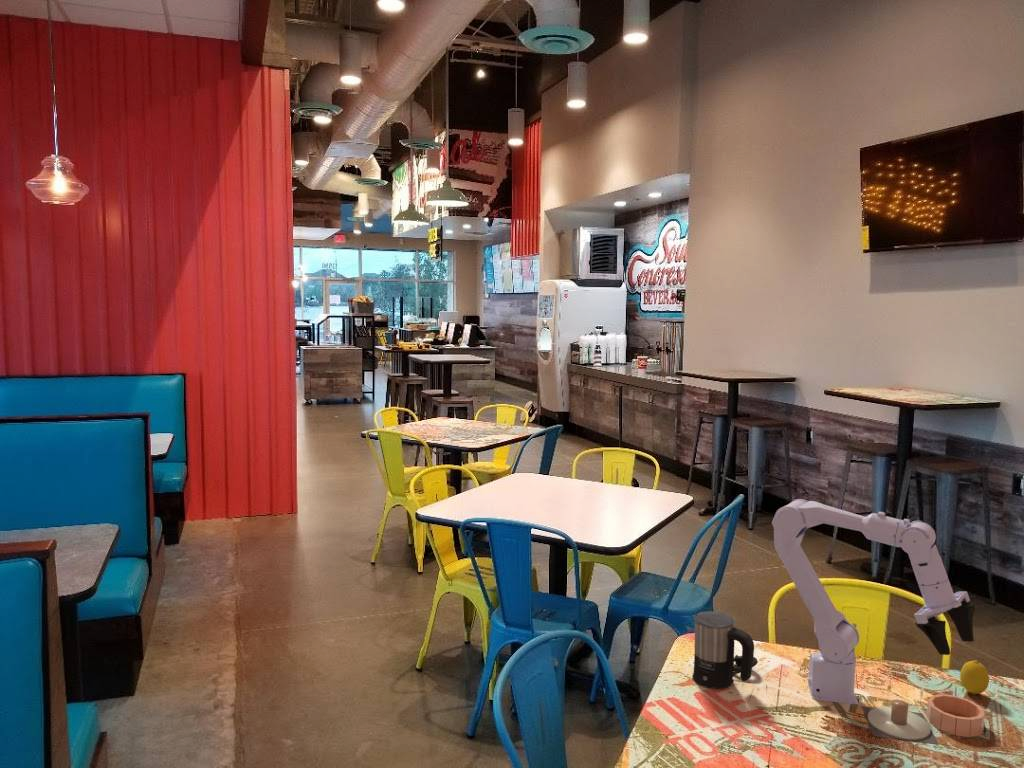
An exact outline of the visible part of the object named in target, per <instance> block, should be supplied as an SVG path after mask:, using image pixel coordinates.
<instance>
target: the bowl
mask: <svg viewBox="0 0 1024 768" xmlns="http://www.w3.org/2000/svg"><path fill="white" fill-rule="evenodd" d="M985 715H986V712H985V711H984V709H983V708H982V706H981V705H978V703H976V702H974V701H972V700H971V699H967V698H965V697H961V696H958V695H952V694H944V693H939V694H934V695H930V697H928V699H927V705H926V720H928V723H929V725H932V726H933V727H934V728H937V729H938V730H939V731H942V732H945V733H947V734H949V735H950V734H951V735H953V736H957V737H966V738H972V737H979V736H981V735H982V733H983V731H984V729H985V719H986V718H985V717H986V716H985Z"/></svg>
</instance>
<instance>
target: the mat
mask: <svg viewBox="0 0 1024 768" xmlns="http://www.w3.org/2000/svg"><path fill="white" fill-rule="evenodd" d="M861 708H862V711H863V713H864V715H865V718H866V721H867V723H868V726H869V728H870V732H871V734H872V735H873V737H878V738H886V739H893V740H901V741H910V742H916V743H923V744H931V745H940V743H939V742H938V740H937V738H936V736H935V733H934V732H933V731H932V729H931V727H930V729H931V730H930V735H929V736H928V737H926V738H924V739H919V740H907V739H900V738H896V737H893V736H890V735H887V734H885V733H883V732H881V731H879V730H877V729H876V728H874V727H873V726H872V725H871V724H870V722H869V721H868V713H869V711H871V710H872V709H874V708H876V707H874V706H864V705H861ZM911 712H912V713H914V714H916V715H918V716H920V717H921V718H923V719H924V720H925V721H926V722H927V723H928V721H927V718H926V717H925V716H924V714H923V712H914V711H911Z"/></svg>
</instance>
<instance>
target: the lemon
mask: <svg viewBox="0 0 1024 768" xmlns="http://www.w3.org/2000/svg"><path fill="white" fill-rule="evenodd" d="M959 679H960V682H961V685H962V687H963V688H964V689H965V690H966V691H967V692H970V694H971V695H977V694H982V693H984V692H985V691H986V690H987V688H988V687H989V682H990V676H989V672H988V669H987V668H986V667H985V665H984V664H982V663H981V662H979V661H978V660H976V659H974V660H970V661H967V662H965V663H964V664H963V665H962V668H961V670H960V673H959Z"/></svg>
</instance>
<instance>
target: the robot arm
mask: <svg viewBox="0 0 1024 768" xmlns="http://www.w3.org/2000/svg"><path fill="white" fill-rule="evenodd" d="M910 521H911V520H910V519H908V518H904V519H900V518H895V517H891V516H886V512H884V511H878V512H877V513H875V512H873V513H870V514H868V515H867V516H864V515H860V514H856V513H854V512H850V511H847V510H843V509H840V508H836V507H833V506H830V505H827V504H824V503H820V502H819V501H815V500H809V501H808V500H806V499H803V498H797V499H794V500H792V501H791V502H790V503H788V504H786V505H784V506H782V507H780V508H778V509H777V510H776V512H775V514H774V517H773V519H772V521H771V525H772V527H773V547H774V548H775V551H776V553H777V554H778V557H779V558H780V560H781V562H782V564H783V566H784V567H785V570H786V571H787V574H788V575H789V578H790V579H791V580H792V582H793V584H794V586H795V588H796V590H797V591H798V593H799V595H800V597H801V599H802V601H803V602H804V605H805V606H806V608H807V610H808V612H809V614H810V615H811V617H812V619H813V622H814V623H813V624H814V625H813V629H814V631H813V632H814V634H815V636H816V638H817V641H818V642H817V645H818V646H817V647H818V651H819V652H812V653H810V655H809V661H808V662H809V663H808V677H807V678H808V679H807V684H808V688H809V693H810V696H811V699H812V700H817V701H823V702H824V701H826V702H832V703H840V704H841V703H842V704H850V705H856V706H857V705H859V701H858V698H857V695H856V693H855V680H856V679H855V677H856V665H857V664H856V661H857V656H856V654H855V652H854V649H855V647H857V646H858V645H859V642H860V634H859V631H858V629H857V628H856V626H855V625H853V624H852V623H851V622H849V620H848V619H847V618H846V615H845V614H844V613H842V612H841V611H839V610H837V609H836V607H835V605H834V603H833V602H832V600H831V598H830V596H829V594H828V592H827V591H826V589H825V587H824V586H823V584H822V582H821V580H820V578H819V577H818V574H817V573H816V571H815V570H814V567H813V566H812V564H811V562H810V560H809V558H808V557H807V555H806V552H804V549H803V548H802V544H801V543H802V541H803V538H804V535H805V532H807V530H808V529H810V528H812V527H816V526H819V525H822V524H825V525H829V526H833V527H838V528H843V529H847V530H848V529H849V530H852V531H858V532H861V533H862V534H863V535H864V536H863V537H865V538H866V539H867V540H870V541H873V542H878V543H880V544H881V543H882V544H885V545H888V546H892V547H895V548H901V549H902V551H904V552H905V553H907V554H908V558H909V560H910V564H911V565H910V566H911V567H912V571H913V573H914V576H915V579H916V582H917V584H918V588H919V590H920V593H921V596H922V599H923V602H924V605H923V606H922V607H921V608H920V609H919V610H918V611H916V612H915V613H914V614H913V616H914V619H915V621H914V623H915V626H916V627H917V628H918V629H920V631H922V632H923V633H924V635H925V636H926V638H927V639H929V641H930V642H931V643H932V645H933V646H934V648H935V649H936V651H937V653H938V654H939V655H943V656H944V655H945V656H949V655H951V650H950V645H949V642H948V637H947V632H946V625H947V624H946V623H947V622H946V620H938V618H936V617H938V616H940V615H942V614H944V613H946V612H947V614H948V615H949V616H950V618H951V620H952V622H953V624H954V625H955V629H956V631H957V632H958V633H957V634H958V635H959V638H960V639H961V641H962V642H969V643H971V642H974V631H973V630H974V629H973V628H974V627H973V625H974V624H973V618H974V613H975V605H974V603H972V602H970V601H971V599H970V597H969V593H968V591H956V592H955V593H954V591H953V587H952V586H951V585H952V584H951V582H950V580H949V577H948V574H947V570H946V568H945V566H944V564H943V560H942V557H941V556H940V554H939V550H938V547H937V545H936V544H935V542H936V537H937V536H936V531H935V529H934V528H933V527H932V526H931V524H928V523H926V522H923V520H914V521H911V522H910Z"/></svg>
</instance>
